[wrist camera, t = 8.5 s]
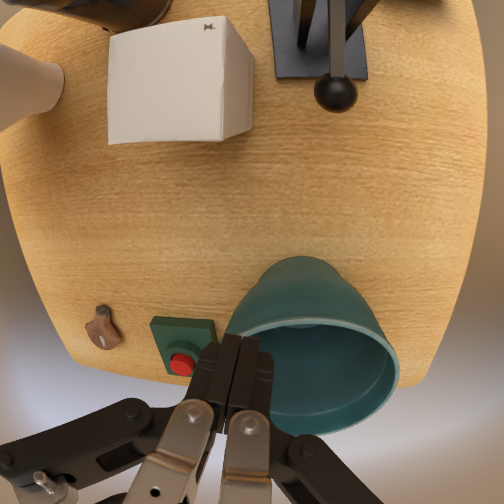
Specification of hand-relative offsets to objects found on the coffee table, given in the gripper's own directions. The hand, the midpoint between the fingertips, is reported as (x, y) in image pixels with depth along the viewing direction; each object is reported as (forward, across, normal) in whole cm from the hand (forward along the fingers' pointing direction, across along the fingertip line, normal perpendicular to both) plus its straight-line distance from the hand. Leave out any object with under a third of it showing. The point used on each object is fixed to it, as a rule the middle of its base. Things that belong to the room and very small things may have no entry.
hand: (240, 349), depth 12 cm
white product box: (+24, +8, -12) cm, 28 cm away
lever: (+14, -3, -17) cm, 23 cm away
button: (+21, +10, +27) cm, 35 cm away
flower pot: (+24, -6, +12) cm, 28 cm away
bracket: (+24, -2, -21) cm, 32 cm away
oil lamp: (+24, +26, +27) cm, 45 cm away
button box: (+24, +10, +26) cm, 37 cm away
